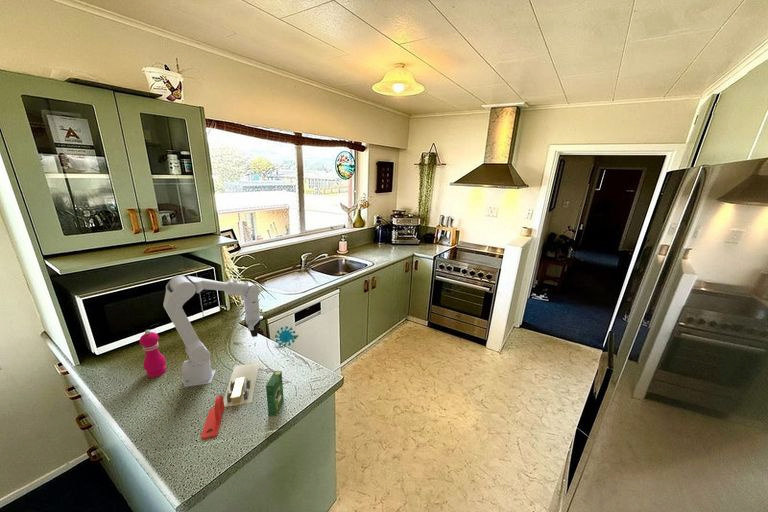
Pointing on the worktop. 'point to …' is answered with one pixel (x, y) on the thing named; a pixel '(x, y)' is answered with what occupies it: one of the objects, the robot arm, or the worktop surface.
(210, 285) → the robot arm
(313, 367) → the worktop surface
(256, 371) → the mat
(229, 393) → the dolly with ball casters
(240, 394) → the sanding block
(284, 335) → the gear
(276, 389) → the coffee box
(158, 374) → the pepper mill
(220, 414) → the bracket
